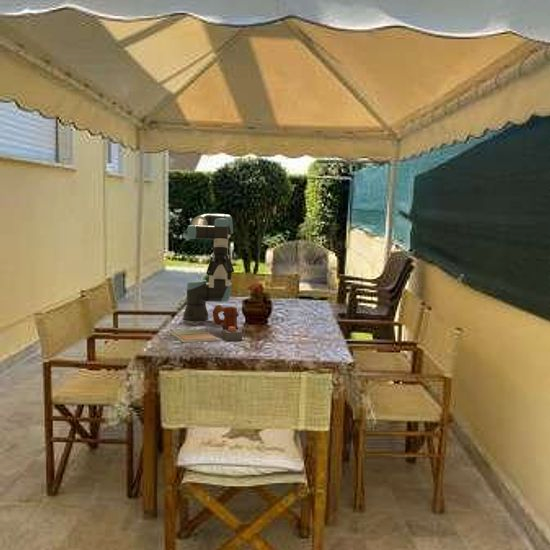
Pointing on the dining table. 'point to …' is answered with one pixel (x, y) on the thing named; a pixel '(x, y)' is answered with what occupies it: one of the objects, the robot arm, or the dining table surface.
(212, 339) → the picture board
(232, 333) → the button base
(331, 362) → the dining table surface
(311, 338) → the dining table surface
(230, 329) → the button
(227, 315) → the mug
